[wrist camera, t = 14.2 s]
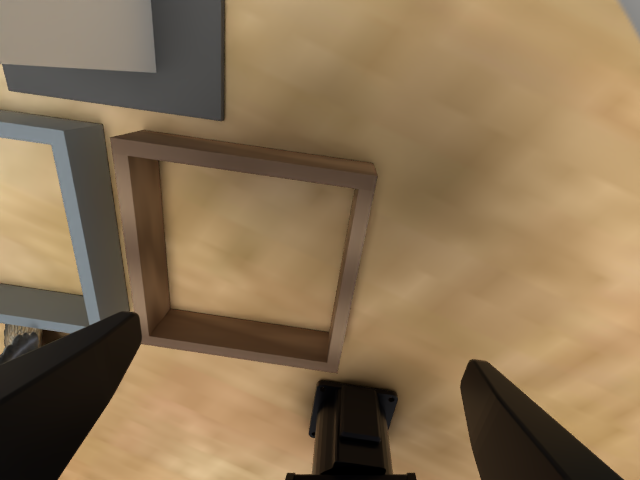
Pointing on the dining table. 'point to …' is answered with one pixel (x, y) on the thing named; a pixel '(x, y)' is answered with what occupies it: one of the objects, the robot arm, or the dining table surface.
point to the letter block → (78, 34)
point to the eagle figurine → (19, 341)
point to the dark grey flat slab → (144, 87)
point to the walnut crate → (150, 253)
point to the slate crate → (72, 228)
